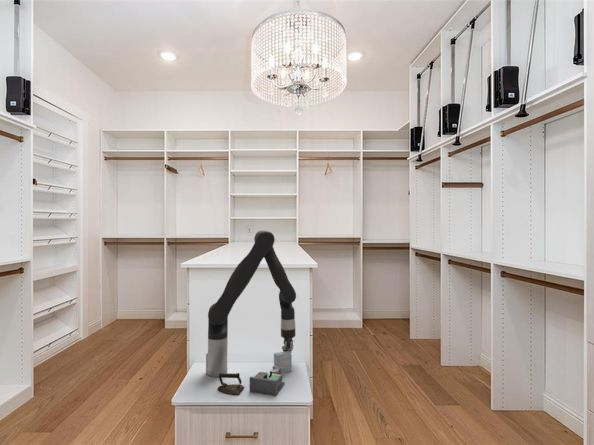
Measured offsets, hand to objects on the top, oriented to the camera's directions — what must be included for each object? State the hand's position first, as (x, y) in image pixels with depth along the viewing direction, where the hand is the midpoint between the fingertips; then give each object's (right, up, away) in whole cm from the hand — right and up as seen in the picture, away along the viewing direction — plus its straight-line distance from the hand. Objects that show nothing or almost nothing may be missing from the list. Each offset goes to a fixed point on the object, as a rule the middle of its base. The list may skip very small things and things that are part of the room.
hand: (288, 361), depth 172 cm
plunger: (-5, 0, -19) cm, 19 cm away
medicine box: (-3, -2, -8) cm, 9 cm away
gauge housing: (-9, -1, -26) cm, 27 cm away
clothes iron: (-25, -1, -28) cm, 38 cm away
